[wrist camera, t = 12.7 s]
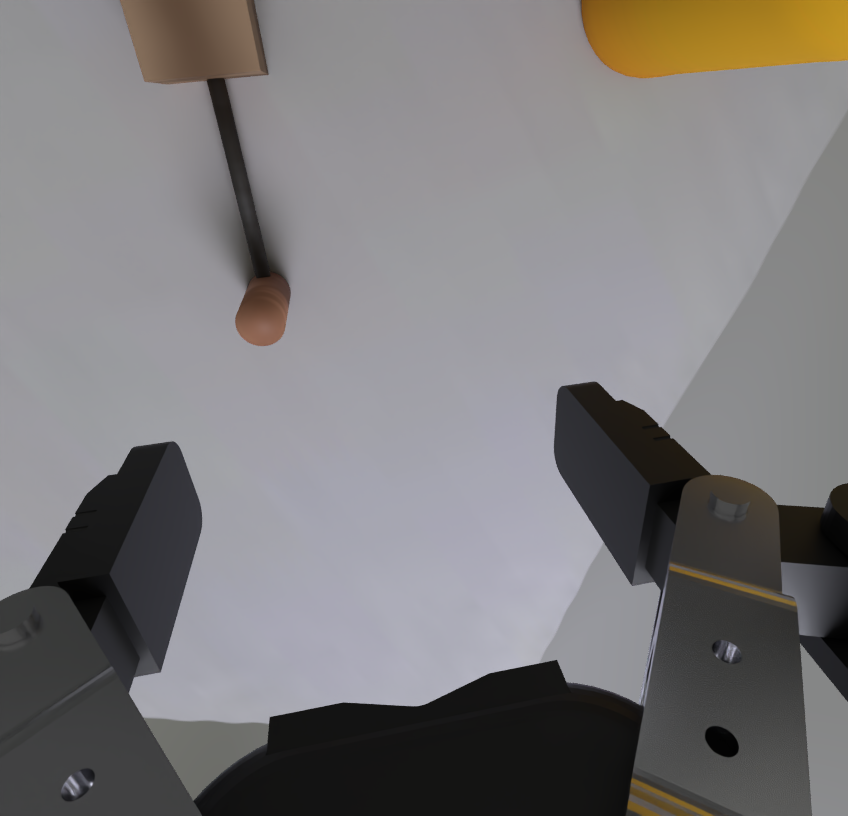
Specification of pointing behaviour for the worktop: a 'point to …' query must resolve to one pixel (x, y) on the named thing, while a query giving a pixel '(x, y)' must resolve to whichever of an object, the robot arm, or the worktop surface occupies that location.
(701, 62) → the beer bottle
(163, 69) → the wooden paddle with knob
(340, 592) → the worktop surface
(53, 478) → the worktop surface
